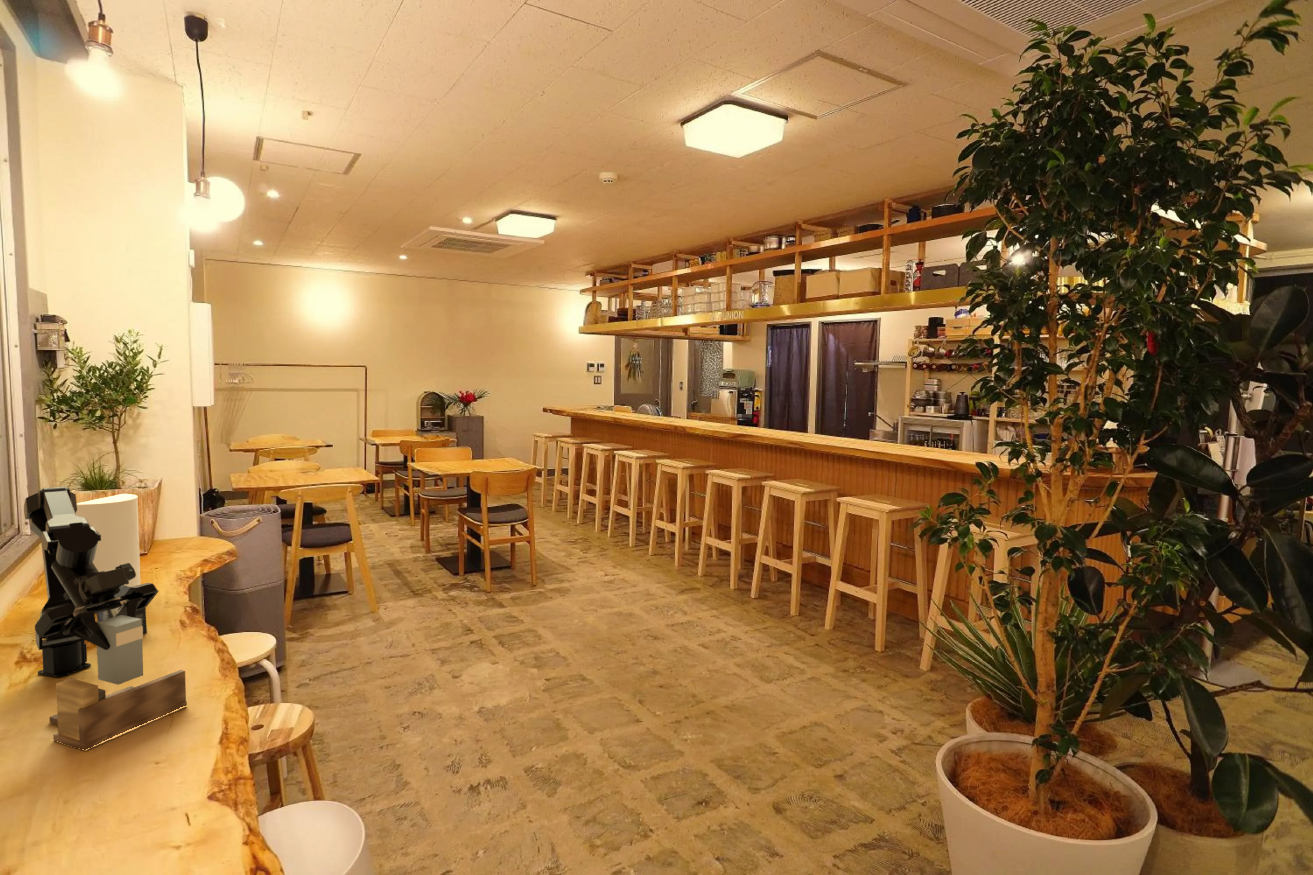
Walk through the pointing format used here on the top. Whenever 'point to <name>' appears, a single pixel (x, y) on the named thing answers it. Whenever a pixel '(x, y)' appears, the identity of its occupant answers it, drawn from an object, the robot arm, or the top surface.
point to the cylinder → (114, 532)
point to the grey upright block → (121, 650)
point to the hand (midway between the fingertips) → (122, 643)
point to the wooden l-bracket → (112, 708)
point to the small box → (111, 613)
